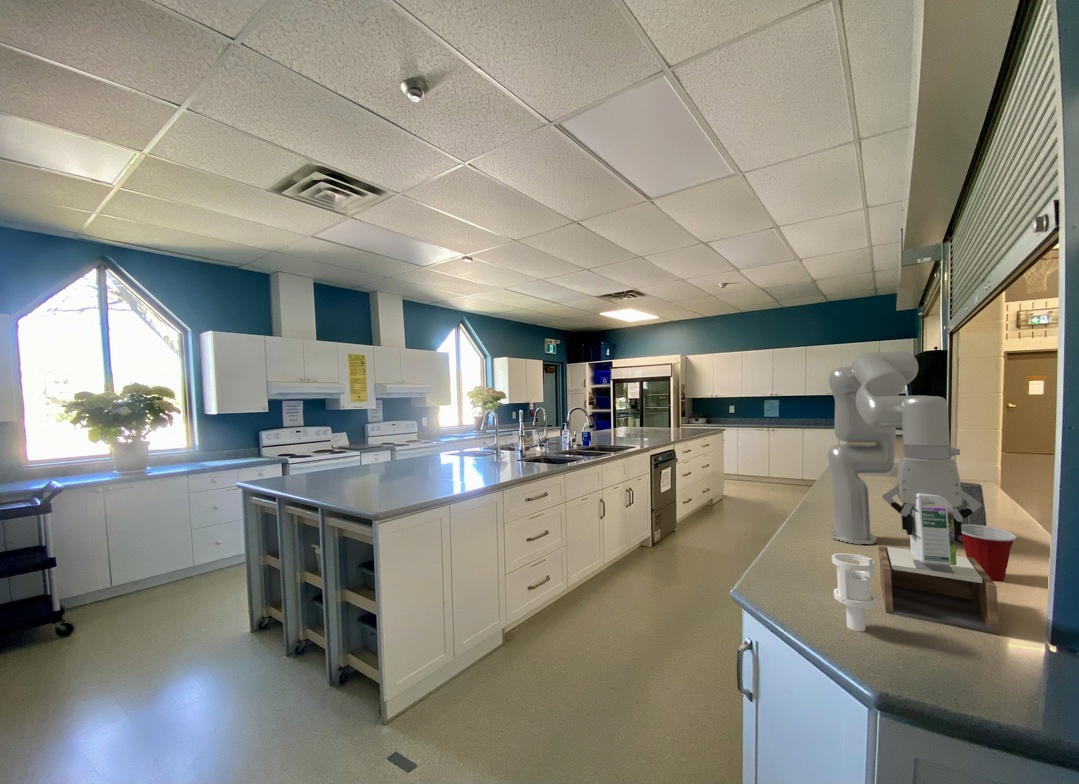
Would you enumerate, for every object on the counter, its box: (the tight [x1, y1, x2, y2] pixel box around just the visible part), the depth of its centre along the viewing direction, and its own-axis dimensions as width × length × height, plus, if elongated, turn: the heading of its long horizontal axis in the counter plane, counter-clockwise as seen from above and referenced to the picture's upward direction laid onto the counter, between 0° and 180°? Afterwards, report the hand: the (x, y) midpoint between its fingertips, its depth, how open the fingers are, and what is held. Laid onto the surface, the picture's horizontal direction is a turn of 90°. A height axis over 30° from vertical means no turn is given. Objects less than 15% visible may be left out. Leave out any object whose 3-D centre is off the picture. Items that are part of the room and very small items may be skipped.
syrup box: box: [909, 493, 957, 565], centre depth 92 cm, size 6×6×14 cm
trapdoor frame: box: [878, 545, 1000, 636], centre depth 96 cm, size 18×17×10 cm
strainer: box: [831, 552, 878, 633], centre depth 88 cm, size 7×7×15 cm
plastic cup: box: [961, 525, 1017, 582], centre depth 110 cm, size 11×11×12 cm
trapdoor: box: [886, 546, 982, 583], centre depth 96 cm, size 14×14×1 cm
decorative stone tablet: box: [956, 481, 988, 542], centre depth 144 cm, size 19×6×30 cm
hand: (931, 535), depth 92 cm, fingers closed on syrup box, 6 cm apart
